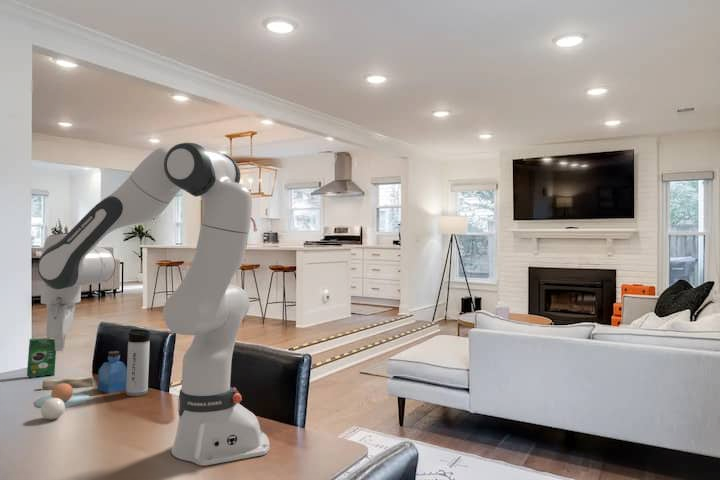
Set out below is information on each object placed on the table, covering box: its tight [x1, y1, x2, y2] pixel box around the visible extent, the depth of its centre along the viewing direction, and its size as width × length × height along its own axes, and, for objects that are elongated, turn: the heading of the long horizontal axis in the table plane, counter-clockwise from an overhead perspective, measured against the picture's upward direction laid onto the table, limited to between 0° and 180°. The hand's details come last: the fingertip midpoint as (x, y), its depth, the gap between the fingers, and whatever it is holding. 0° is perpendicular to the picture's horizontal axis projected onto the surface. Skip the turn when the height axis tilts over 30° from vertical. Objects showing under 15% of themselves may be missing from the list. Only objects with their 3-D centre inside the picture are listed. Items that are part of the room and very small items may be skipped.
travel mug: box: [125, 328, 151, 397], centre depth 157 cm, size 6×7×20 cm
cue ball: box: [40, 398, 66, 420], centre depth 133 cm, size 6×6×6 cm
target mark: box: [34, 392, 90, 408], centre depth 148 cm, size 14×14×1 cm
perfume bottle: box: [97, 350, 127, 394], centre depth 160 cm, size 6×6×12 cm
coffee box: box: [26, 337, 57, 377], centre depth 171 cm, size 8×3×13 cm, turn 130°
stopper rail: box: [41, 376, 94, 390], centre depth 161 cm, size 14×2×2 cm, turn 115°
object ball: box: [50, 383, 74, 402], centre depth 146 cm, size 6×6×6 cm
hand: (59, 349), depth 128 cm, fingers closed
